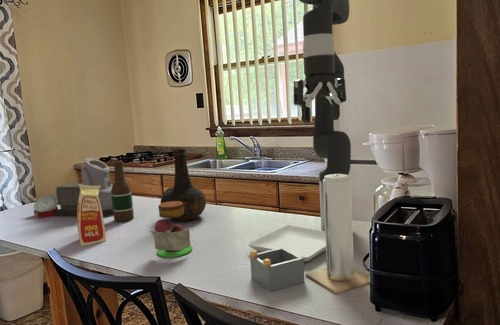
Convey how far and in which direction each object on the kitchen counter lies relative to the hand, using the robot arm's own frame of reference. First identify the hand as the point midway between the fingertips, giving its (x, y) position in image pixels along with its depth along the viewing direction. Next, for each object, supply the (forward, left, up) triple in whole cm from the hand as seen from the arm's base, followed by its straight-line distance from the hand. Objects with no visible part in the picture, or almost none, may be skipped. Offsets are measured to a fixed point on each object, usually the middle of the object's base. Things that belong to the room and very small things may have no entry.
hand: (321, 121), depth 106 cm
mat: (+2, +8, -38) cm, 39 cm away
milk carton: (+51, -65, -38) cm, 91 cm away
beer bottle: (+37, -85, -38) cm, 100 cm away
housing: (+15, 0, -38) cm, 41 cm away
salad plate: (-1, -16, -39) cm, 42 cm away
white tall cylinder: (+2, +8, -38) cm, 39 cm away
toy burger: (+31, -36, -38) cm, 61 cm away
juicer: (+47, -107, -38) cm, 123 cm away
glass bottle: (+16, -71, -38) cm, 82 cm away
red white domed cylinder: (+65, -117, -38) cm, 139 cm away
